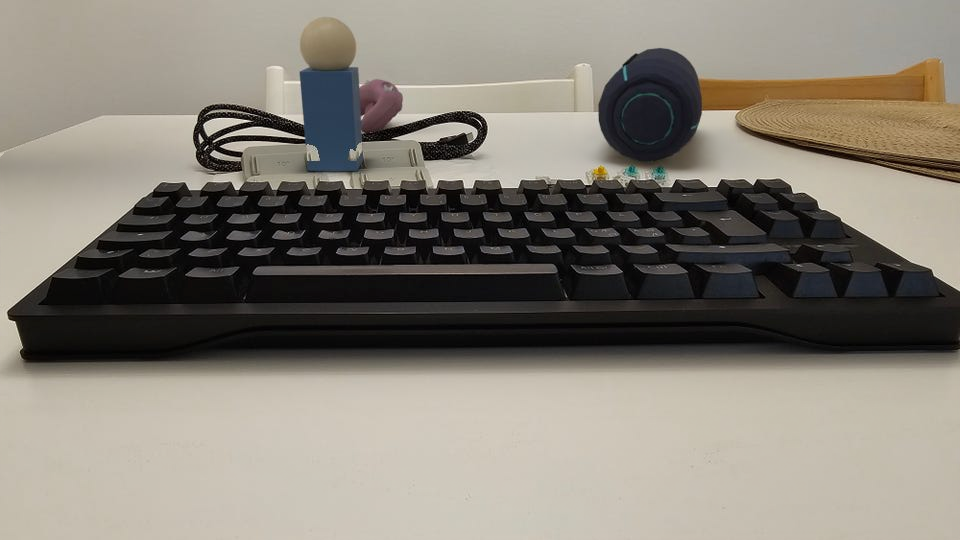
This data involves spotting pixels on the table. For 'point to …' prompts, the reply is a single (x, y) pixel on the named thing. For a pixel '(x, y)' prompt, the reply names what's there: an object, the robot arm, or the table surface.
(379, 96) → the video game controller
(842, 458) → the table surface
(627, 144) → the portable speaker
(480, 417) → the table surface
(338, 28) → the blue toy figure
